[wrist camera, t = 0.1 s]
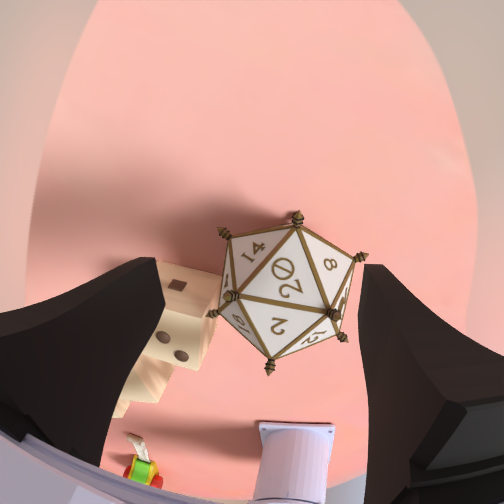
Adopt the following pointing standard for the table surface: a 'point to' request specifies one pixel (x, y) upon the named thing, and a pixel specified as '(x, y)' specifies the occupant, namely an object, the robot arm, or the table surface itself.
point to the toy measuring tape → (142, 465)
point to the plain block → (147, 380)
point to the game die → (284, 288)
